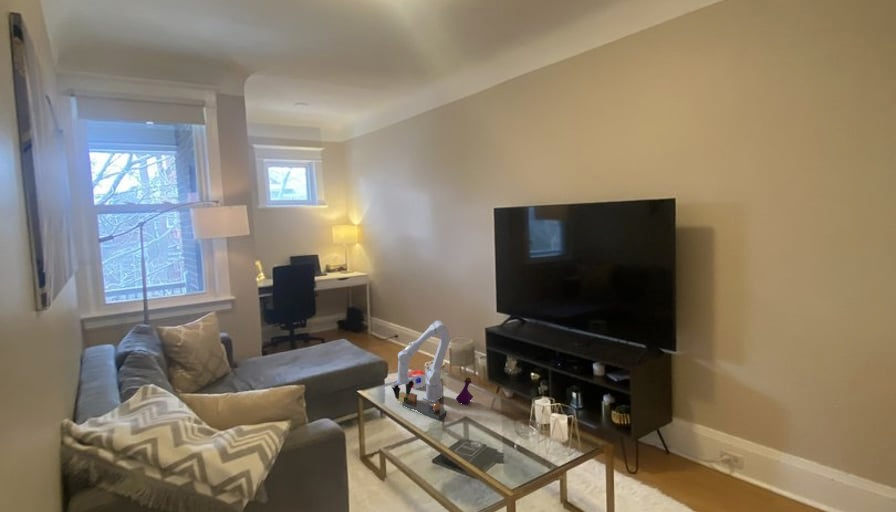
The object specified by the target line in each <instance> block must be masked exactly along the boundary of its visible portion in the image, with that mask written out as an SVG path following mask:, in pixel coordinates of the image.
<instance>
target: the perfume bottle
mask: <svg viewBox="0 0 896 512" xmlns="http://www.w3.org/2000/svg"><path fill="white" fill-rule="evenodd" d="M464 374H465V375H466V376H467V377H466V378H465V379H464V380H463V381H464V385H463V389H462V390H461V391H460V392H459V394H458V395H457V396H456V397H455V400H456V401H457V402H458V404H459V403H462V404H461V405H463V404H467V405H469V403H470V402H471V401H472V399H473V398H474V395H472V394H471V393H470V391H469V390H468V388H469V385H470V384H472V378H471V377H469V372H468V371H463V372H462V374H461V375H464ZM470 400H471V401H470Z"/></svg>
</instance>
